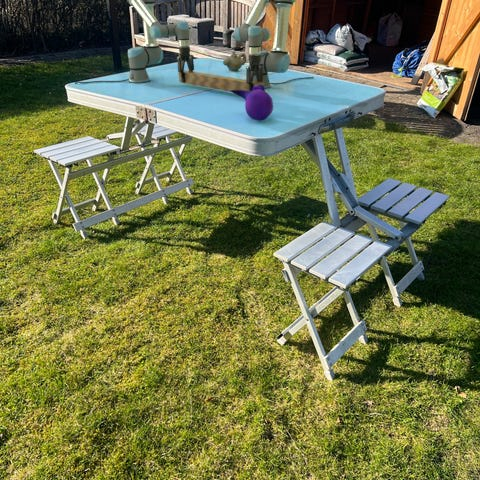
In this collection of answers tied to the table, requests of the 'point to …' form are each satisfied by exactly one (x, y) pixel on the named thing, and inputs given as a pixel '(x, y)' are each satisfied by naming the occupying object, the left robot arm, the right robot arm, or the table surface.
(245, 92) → the toy
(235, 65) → the teapot
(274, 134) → the table surface
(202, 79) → the block
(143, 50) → the left robot arm
